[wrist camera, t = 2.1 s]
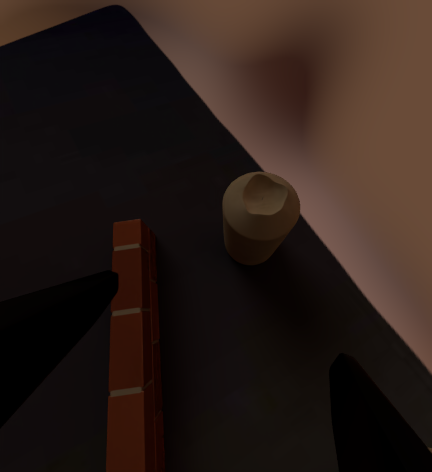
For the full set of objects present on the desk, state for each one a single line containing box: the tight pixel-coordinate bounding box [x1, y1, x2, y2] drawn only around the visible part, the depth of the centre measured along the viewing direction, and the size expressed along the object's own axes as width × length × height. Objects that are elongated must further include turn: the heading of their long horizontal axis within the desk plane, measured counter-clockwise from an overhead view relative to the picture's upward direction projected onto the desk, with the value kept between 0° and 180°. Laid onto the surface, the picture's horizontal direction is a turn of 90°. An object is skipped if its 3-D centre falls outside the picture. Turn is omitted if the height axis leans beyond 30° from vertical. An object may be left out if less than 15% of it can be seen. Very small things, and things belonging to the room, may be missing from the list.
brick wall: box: [106, 219, 165, 472], centre depth 18 cm, size 22×3×4 cm, turn 8°
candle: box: [223, 172, 300, 265], centre depth 19 cm, size 6×6×10 cm
